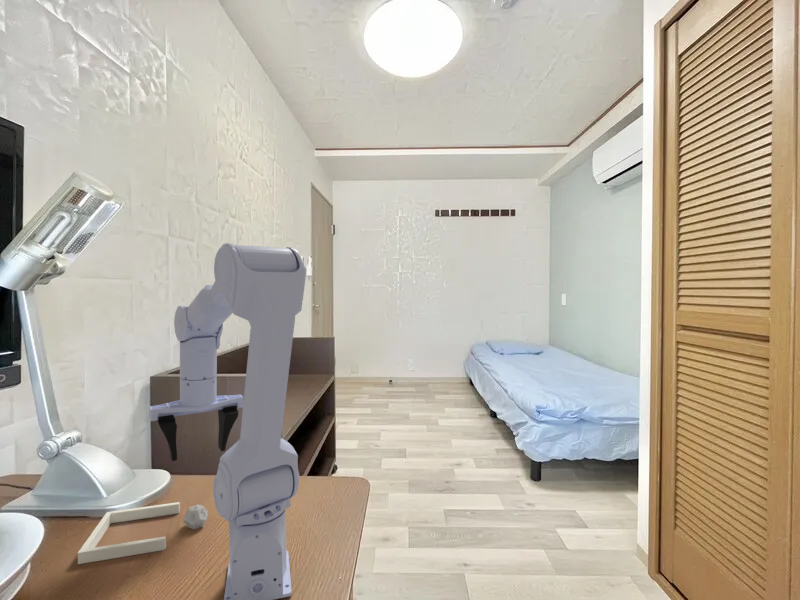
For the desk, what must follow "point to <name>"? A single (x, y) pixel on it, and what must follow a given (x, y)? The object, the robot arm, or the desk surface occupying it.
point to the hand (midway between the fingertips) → (198, 453)
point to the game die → (195, 516)
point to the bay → (129, 548)
